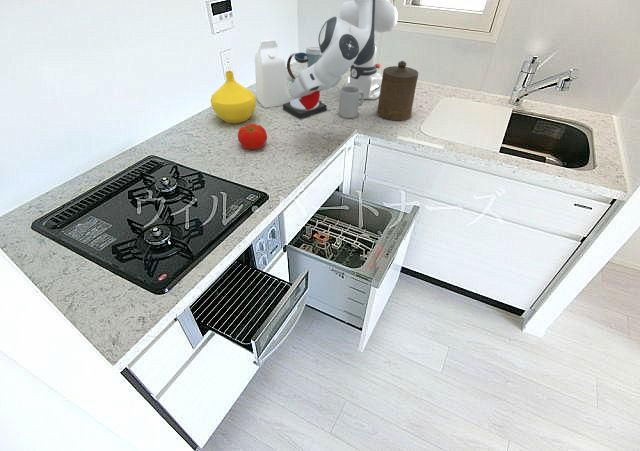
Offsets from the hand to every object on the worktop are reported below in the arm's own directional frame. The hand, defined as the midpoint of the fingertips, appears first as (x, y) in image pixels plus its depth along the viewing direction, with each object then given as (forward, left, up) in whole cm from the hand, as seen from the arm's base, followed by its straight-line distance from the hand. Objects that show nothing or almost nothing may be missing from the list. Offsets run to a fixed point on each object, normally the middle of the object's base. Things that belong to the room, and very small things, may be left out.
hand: (306, 95), depth 124 cm
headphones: (-35, -47, -16) cm, 60 cm away
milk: (-9, -37, -16) cm, 41 cm away
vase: (+14, -31, -16) cm, 38 cm away
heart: (0, +1, -6) cm, 6 cm away
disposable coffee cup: (-47, -51, -16) cm, 71 cm away
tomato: (+21, -6, -16) cm, 27 cm away
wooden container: (-44, +8, -16) cm, 47 cm away
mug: (-29, -4, -16) cm, 33 cm away
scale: (-15, -20, -16) cm, 29 cm away
